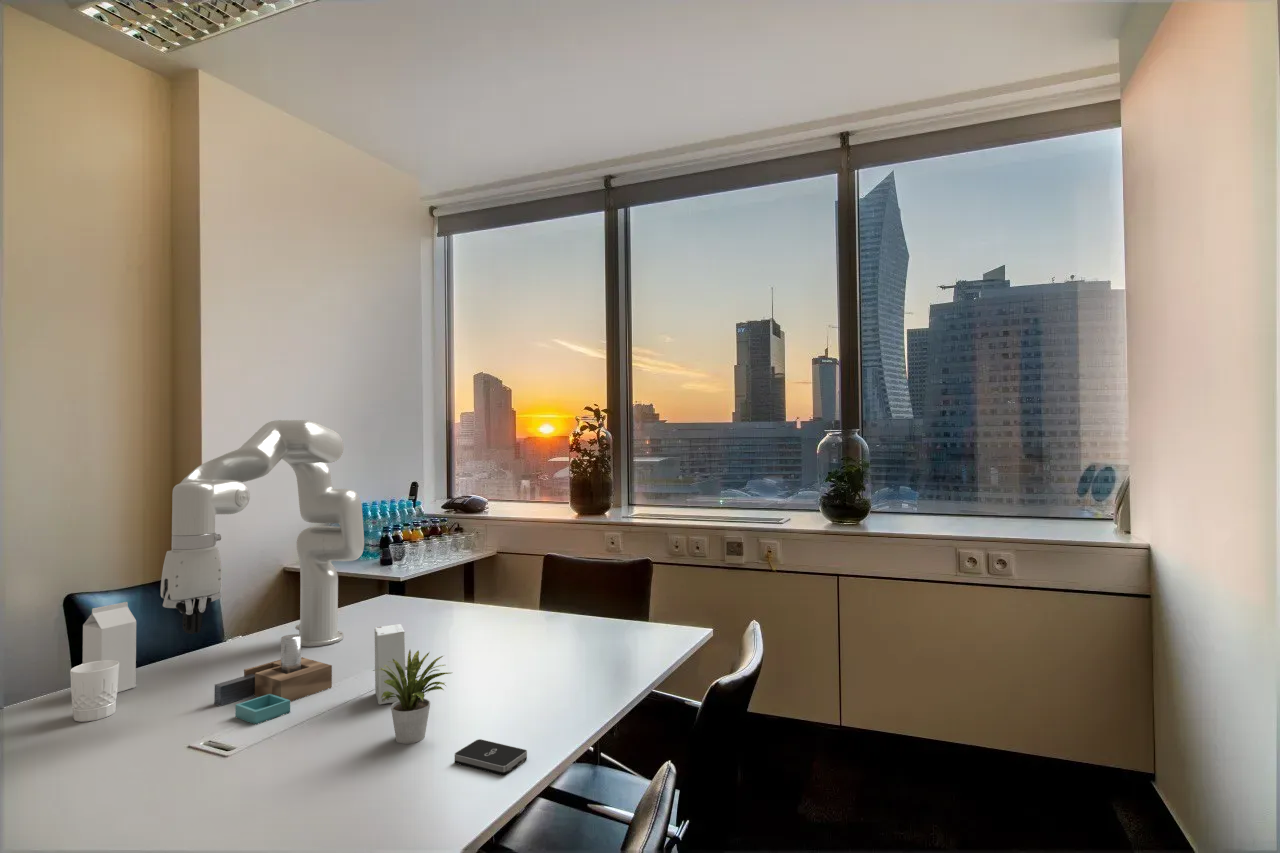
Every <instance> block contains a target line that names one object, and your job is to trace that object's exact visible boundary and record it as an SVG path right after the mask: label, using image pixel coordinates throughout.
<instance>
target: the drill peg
mask: <svg viewBox="0 0 1280 853" xmlns="http://www.w3.org/2000/svg"><path fill="white" fill-rule="evenodd" d="M301 657H302V646H301V635H299V633H298V634H295V633H294V634H287V635H284V636H281V637H280V659H281V673H285V674H288V673H292V672H295V671H298V670H301Z"/></svg>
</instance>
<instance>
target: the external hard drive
mask: <svg viewBox="0 0 1280 853" xmlns="http://www.w3.org/2000/svg"><path fill="white" fill-rule="evenodd" d="M527 760H528V750H527V749H525V748H520V747H515V746H511V745H508V744H504V743H499V742H495V741H490V740H485V739H482V738H478V739H476V740H474V741H473V742H471V743H469V744H467V745H466V746H464V747H463V748H461V749H459V750H457V751H456V752H455V753H454V763H455V764H456V765H459V766H464V767H466V768H469V769H470V768H471V769H475V770H479V771H484V772H485V773H486V772H487V773H490V774H495V775H499V776H502V777H503V776H506V775H508V774H510V773H511V772H512V771H514V770H515V769H517V768H518V767H520V766H521V765H522V764H523V763H525V762H526V761H527Z"/></svg>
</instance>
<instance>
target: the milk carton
mask: <svg viewBox="0 0 1280 853" xmlns="http://www.w3.org/2000/svg"><path fill="white" fill-rule="evenodd" d="M103 660H115V661H118V662H119V676H118V689H117V693H120V692H124V691H127V690H130V689H134V688H135V687H136V686H137V684H136V683H137V682H136V681H137V677H136V675H137V672H136V671H137V663H136V661H137V620H136V618H135V616H134V615H133V613H132V612H131V610H130V608H129V606H128V601H124V602H120V603H114V604H109V605H104V606H99V607H94V608H91V614H90V615H89V616H88V618H87V619H86V621H85V622H84V623H83V624H82V664H85V663H89V662H95V661H103Z"/></svg>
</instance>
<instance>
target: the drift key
mask: <svg viewBox="0 0 1280 853" xmlns="http://www.w3.org/2000/svg"><path fill="white" fill-rule="evenodd" d="M213 696H214V701H213V702H214V704H215V705H217V706H220V707H221V706H225V705H228V704H231V703H234V702H237V701H240V700H244V699H246V698H250V697H253V696H255V675H254V674H250V675H246V676H244V675H243V676H239V677H236V678H231V679H229V680H226V681H223V682H219V683H215V684H214V694H213ZM243 698H244V699H243Z"/></svg>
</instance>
